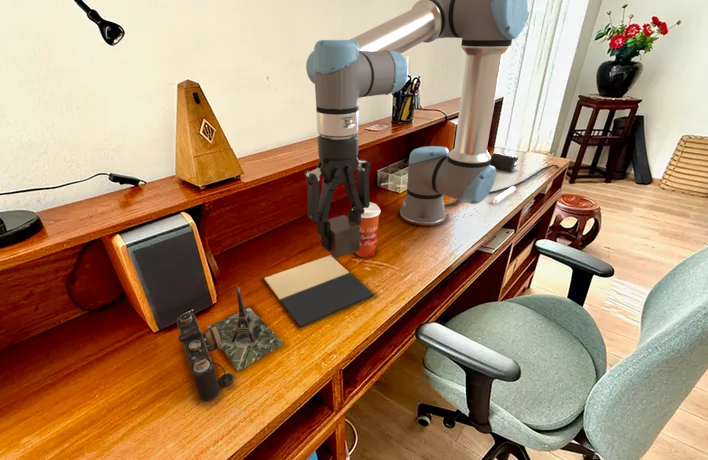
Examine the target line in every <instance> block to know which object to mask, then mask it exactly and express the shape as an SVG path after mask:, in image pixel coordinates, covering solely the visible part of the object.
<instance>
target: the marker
mask: <svg viewBox="0 0 708 460" xmlns="http://www.w3.org/2000/svg"><path fill="white" fill-rule="evenodd" d="M511 186H512V185H511ZM516 190H517V186H512V187H510V188H509V189H506V190H503V191H501V193H499V194H498V195H496V196H494V197H493V198H492V199H491V203H492V204H498V203H499V202H500V201H502V200H504V199H505V198H506V197H508V196H509V195H511V194H512V193H514V192H516Z"/></svg>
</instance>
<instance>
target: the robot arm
mask: <svg viewBox="0 0 708 460" xmlns="http://www.w3.org/2000/svg"><path fill="white" fill-rule="evenodd" d="M528 9H529V7H528V0H418V1H416V2H415V3H414V4H413V6H412V7H411V9H410V10H408V11H405V12H404V13H401V14H399V15H398V16H395V17H393V18H392V19H389V20H387V21H385V22H383V23H381V24H379V25H377V26H375V27H373V28H371V29H369V30H367V31H365V32H363V33H360V34H359V35H357V36H355V37H353V38H350V39H321V40H318V41H317V42H316V43H315V44H314V46H313V50H312V51H311V52H310V53H309V55H308V57H307V60H306V64H305V69H306V70H305V71H306V74H307V77H308V79H309V80H310V82H311V83H313V84H314V91H315V92H314V94H315V111H316V112H315V113H316V132H317V134H318V136H317V153H318V154H317V155H318V160H319V161H318V164H317V167H316V168H315V169H312V170H311V171H310V170H306V171H304V178H305V180H306V186H307V187H306V188H307V189H306V192H307V196H306V197H307V200H306V203H307V206H306V207H307V211H306V213H307V214H306V215H307V216H306V217H307V218H308V219H309V220H310V221H312V222H313V223H315V224H316V228H317V234H318V235H319V236H320V241H321V240H322V244H321V247H322V246H323V247H324V248H325V249H326V250H327V251H326V250H325V249H324V248H323V247H322V248H323V249H324V250H325V251H326V252H328V251H330V250H331V227H330V222H329V221H328V220H329V219H328V217H329V213H330V208H331V204H332V201H333V197H334V193H335V191H336V190H337V186H339V185H340V184H343V186H344V189H345V191H346V194H347V198H348V201H349V203H350V207H351V209H348V211H347V214H348V216H347V217H348V218H349V219H351V220H352V221H354V222H355V223H357V224H358V225H360V224H361V214H363V213H364V212H365V210H364V208H368V207H369V205H370V202H371V201H370V177H369V173H370V170H371V162H368V161H367V160H364V159H362V158H361V159H360V160H359V158H358V155H359V137H358V135H357V134H358V133H359V110H360V109H359V108H360V107H359V104H360V98H361V99H362V98H366V97H367V98H368V97H374V96H384V95H385V96H388V95H390V94H394V93H398V92H400V90H402V89H403V88H404V86H405V85H406V83H407V81H408V75H409V66H408V62H407V60H406V58H405V56H403V55H402V54H403V53H404V52H407V51H408V50H410V49H412V48H414V47H416V46H417V45H419V44H421V43H425V44H426V43H431V42H432V43H433V42H434V41H435V40H438V39H447V38H450V39H453V38H455V39H461V45H460V47H461V49H462V50H463V51H464V53H465V54H466V55H465V62H464V69H463V70H464V71H463V78H462V86H461V94H460V102H459V110H458V117H457V126H456V134H455V142H454V148H453V149H452V150H450V151H449V149H448V148H447V147H446V146H440V145H439V146H438V145H437V146H435V145H430V146H429V145H428V146H421V147H418V148H414V149H413V150H411V152H410V154H409V159H408V162H407V163H408V164H407V165H408V166H407V167H408V169H407V184H406V185H407V186H406V194H405V197H404V199H403V201H402V205H401V206H400V210H399V217H400V218H401V220H402V221H404V222H406V223H408V224H411V225H413V226H419V227H433V226H438V225H441V224H443V223H444V222H445V221H446V219H447V210H446V208H445V207H451V206H454V205H456V204H457V203H459V202H461V203H467V204H471V205H479V204H480V203H482V202H483V201H484V200H485V199H486V198H487V197H488V195H492V194H495V193H499V192H504V191H505V190H507V189H509V188H510V187H512V186H515V187H517V186H519V185H522V184H524V183H525V182H527V181H528V180H530V179H532V178H534V177H535V176H537V174H540V173H541V172H543V170H547V169H549V168H552V167H555V168H556V169H559V165H558V164H550V165H547V166H544V167H542V168H540V169H539V170H538V171H536V172H534V173H532V175H530V176H528V177H526V178H524V179H522V180H521V181H519V182H516V183H514V184H512V185H509V186H506V187H503V188H499V189H496V190H492V189H493V188H494V185H495V182H496V179H497V175H498V174H497V173H498V171H497V169H495V168H494V167H493V166H490V160H491V156H492V155H491V154H490V153H489V152H488V143H489V139H490V132H491V126H492V120H493V114H494V110H495V109H494V108H495V103H496V96H497V90H498V86H499V85H498V84H499V78H500V73H501V67H502V62H503V57H504V54H505V53H506V52H507V51H508V50H510V49H511V48H512V44H513V40H515V39H518V38H519V37H520V36H521V35H522V34H523V31H524V28H525V26H526V24H527V19H528ZM355 172H356V179H355ZM320 176H322V182H321V186H322V187H321V192H320V184H319V182H320V181H321V179H320ZM356 184H357V186H356ZM444 196H446V197H448V198H450V199H454V200H455V201H452V202H450V203H445V201H444V200H445V199H444ZM352 209H353V210H352Z"/></svg>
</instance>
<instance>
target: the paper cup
mask: <svg viewBox="0 0 708 460" xmlns="http://www.w3.org/2000/svg"><path fill="white" fill-rule="evenodd" d="M351 209H352V208H351ZM352 210H353V209H352ZM364 210H365V212H364V213H363V214H361V224H360V225H359V226H360V250H359V251H356V252H355V254H356V256H358V257H359V258H370V257H373V256H375V253H376V250H377V249H376V247H377V239H378V231H379V229H378V227H379V218H380V215H381V208H380V207H379V205H378V204H377V203H374V202H371V201H370V205H369V207H368V208H364Z"/></svg>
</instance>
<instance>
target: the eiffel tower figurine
mask: <svg viewBox="0 0 708 460" xmlns="http://www.w3.org/2000/svg"><path fill="white" fill-rule="evenodd" d="M235 292H236V295H237V301H238V302H237V305H238V312H237V313H235V314H232V315H230V316H228V317H226V318H224V319H221V320H219V321H217V322H215V323H213V324H210V325H208V326H206V329H207V332H208V331H210V330H211V328H213V327H216V329H217V331H219V333H220V335H219V336H221V340H222V349H221V350H222V351H223V352H224V354H225V355H226V357H227V358H228V359H229V361H230V362H231V364H232V366H233V367H234V368H235V370H236V371H237V372H238V373H239V372H240V371H242V370H244V369H245V368H247V367H249V366H250V365H252V364H254V363H255V362H257V361H258V360H260V359H262V358H263V357H265V356H266V355H268V354H269V353H271V352H273V351H274V350H276V349H277V348H279V347H280V346H282V345H284V344H285V343H284V342H283V341H282V339H280V337H279V336H278V335H277V334H276V333H275V332H274V331H273V330H272V329H271V328H270V327H269V326H268V325H267V324H266V322H264V321H263V319H261V318H260V317H259V315H258V314H256V313H255V311H254V310H253V309H251V307H248V308H246V307H245V305H244V302H243V297H242V294H241V289H240V287H239V286H238V285H236V289H235Z"/></svg>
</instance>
